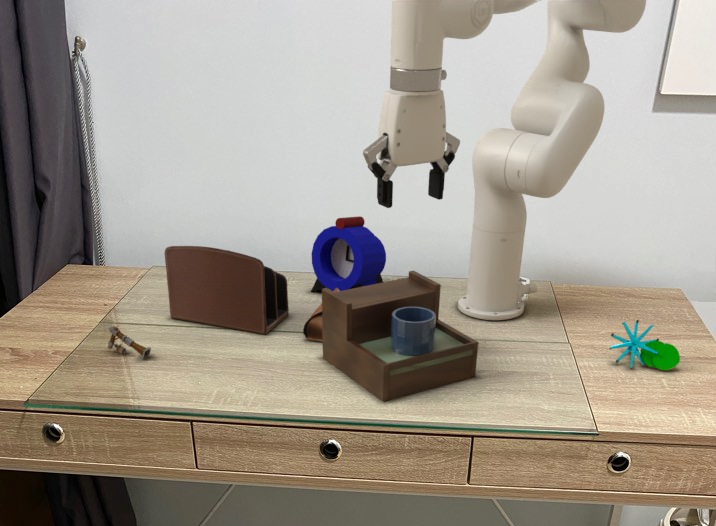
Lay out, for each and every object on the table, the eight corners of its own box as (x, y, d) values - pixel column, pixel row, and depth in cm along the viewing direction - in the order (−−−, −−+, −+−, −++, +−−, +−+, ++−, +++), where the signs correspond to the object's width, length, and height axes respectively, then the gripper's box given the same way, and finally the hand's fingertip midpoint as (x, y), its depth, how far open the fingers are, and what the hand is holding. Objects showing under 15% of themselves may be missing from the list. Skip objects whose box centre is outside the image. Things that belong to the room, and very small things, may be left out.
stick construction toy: (602, 353, 144) (623, 310, 143) (596, 361, 151) (616, 320, 150) (669, 383, 142) (691, 340, 142) (660, 390, 149) (681, 348, 149)
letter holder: (265, 335, 154) (261, 256, 146) (169, 319, 160) (160, 242, 152) (289, 316, 162) (286, 240, 154) (197, 301, 168) (189, 227, 160)
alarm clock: (308, 292, 172) (306, 215, 163) (344, 276, 180) (344, 201, 172) (359, 306, 167) (359, 226, 158) (393, 288, 175) (396, 211, 166)
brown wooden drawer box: (322, 357, 147) (321, 288, 140) (410, 336, 155) (413, 270, 148) (382, 401, 134) (385, 328, 127) (475, 376, 141) (482, 305, 134)
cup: (417, 336, 142) (419, 303, 139) (441, 350, 138) (444, 317, 134) (383, 344, 139) (383, 311, 136) (406, 359, 135) (408, 325, 131)
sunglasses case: (349, 342, 151) (330, 308, 148) (316, 357, 154) (297, 325, 151) (373, 306, 165) (356, 275, 162) (343, 321, 168) (326, 290, 166)
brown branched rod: (107, 342, 149) (112, 321, 146) (145, 367, 149) (151, 346, 146) (101, 346, 148) (106, 324, 145) (139, 371, 147) (145, 350, 144)
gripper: (447, 73, 134) (440, 189, 144) (352, 82, 126) (351, 203, 136) (477, 80, 128) (468, 199, 138) (379, 89, 121) (377, 215, 131)
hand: (410, 201), depth 137 cm, fingers open, 9 cm apart
